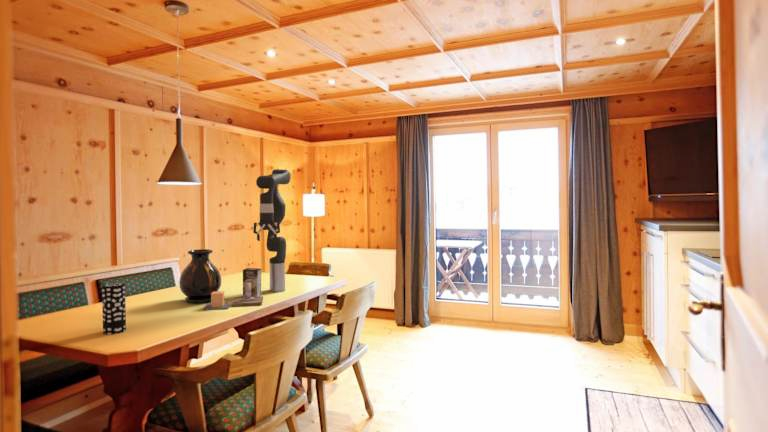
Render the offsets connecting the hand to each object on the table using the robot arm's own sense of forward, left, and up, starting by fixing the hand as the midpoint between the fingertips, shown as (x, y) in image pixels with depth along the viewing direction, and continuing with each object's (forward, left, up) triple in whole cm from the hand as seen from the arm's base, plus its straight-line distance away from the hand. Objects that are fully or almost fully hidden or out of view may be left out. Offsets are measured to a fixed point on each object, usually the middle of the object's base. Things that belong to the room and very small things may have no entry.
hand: (266, 240), depth 244 cm
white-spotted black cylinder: (+47, -61, -33) cm, 84 cm away
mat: (+11, -25, -33) cm, 43 cm away
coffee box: (-11, -9, -33) cm, 36 cm away
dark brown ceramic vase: (-6, -36, -33) cm, 49 cm away
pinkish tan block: (+11, -25, -32) cm, 42 cm away
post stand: (+5, -10, -33) cm, 35 cm away
